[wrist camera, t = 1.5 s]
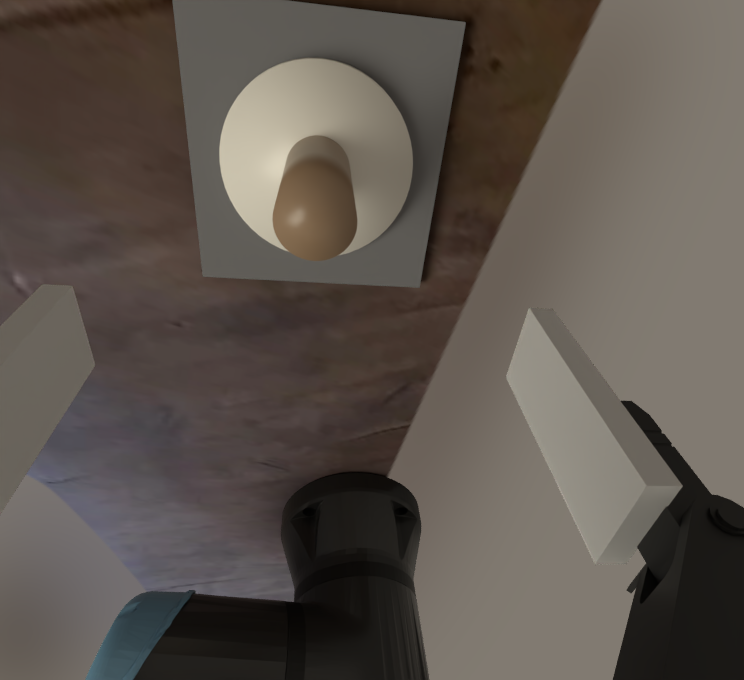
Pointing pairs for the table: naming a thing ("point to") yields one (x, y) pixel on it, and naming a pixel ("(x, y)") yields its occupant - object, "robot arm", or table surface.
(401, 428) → the table surface
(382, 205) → the lid
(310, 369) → the table surface
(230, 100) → the mat
